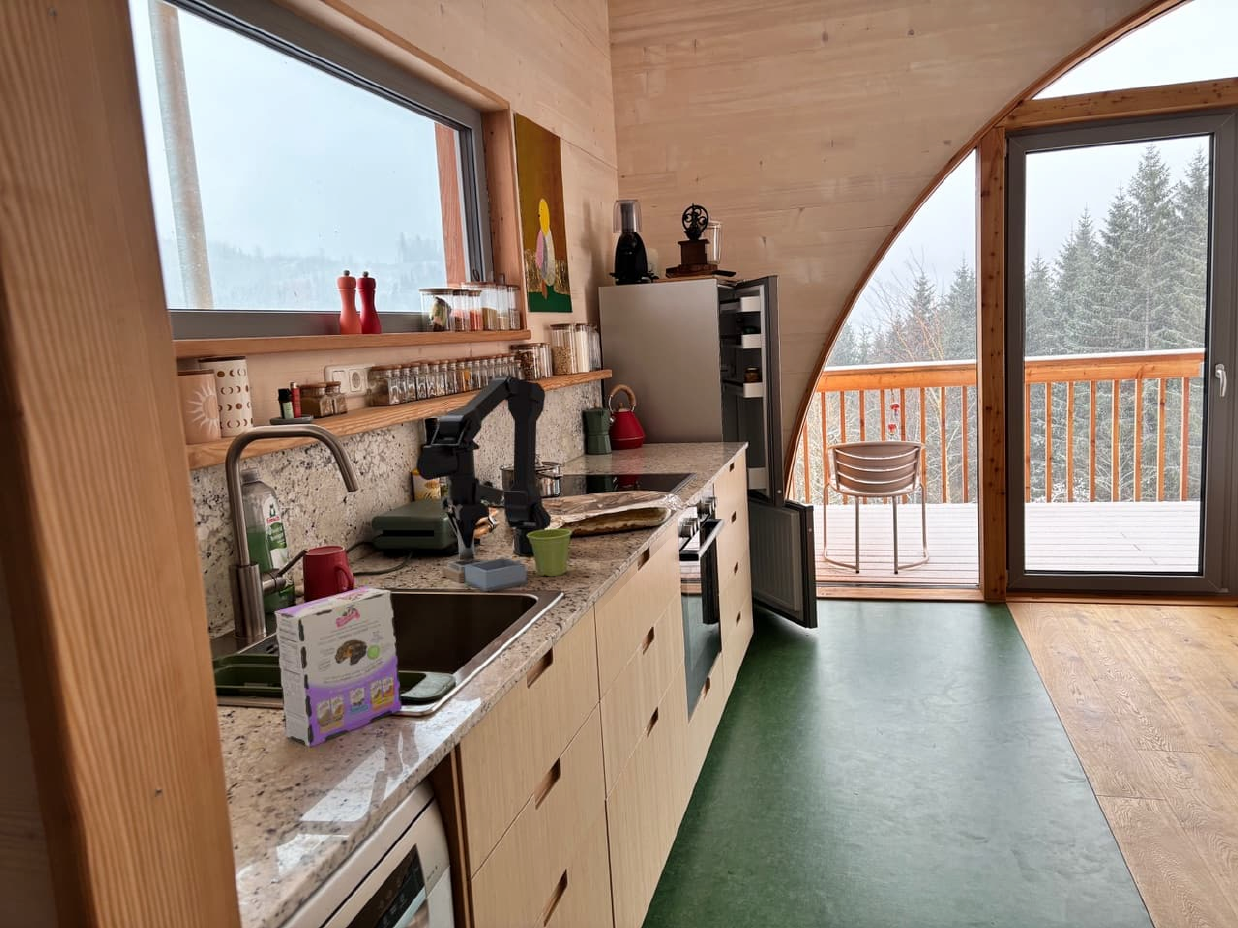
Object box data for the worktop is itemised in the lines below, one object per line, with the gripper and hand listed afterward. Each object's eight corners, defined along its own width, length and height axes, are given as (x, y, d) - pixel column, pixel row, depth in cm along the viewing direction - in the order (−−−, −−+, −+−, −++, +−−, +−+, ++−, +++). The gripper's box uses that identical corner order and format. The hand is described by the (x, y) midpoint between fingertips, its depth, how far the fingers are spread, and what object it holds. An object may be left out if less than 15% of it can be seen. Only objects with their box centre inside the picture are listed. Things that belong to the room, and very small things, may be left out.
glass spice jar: (456, 557, 196) (453, 516, 195) (473, 555, 197) (470, 514, 196) (460, 560, 192) (457, 518, 191) (477, 558, 194) (474, 516, 193)
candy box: (376, 701, 126) (366, 584, 124) (403, 710, 122) (393, 589, 120) (284, 737, 115) (271, 609, 113) (310, 748, 111) (298, 616, 109)
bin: (504, 576, 194) (503, 557, 193) (526, 583, 186) (525, 564, 186) (466, 584, 188) (464, 564, 188) (486, 592, 181) (485, 572, 181)
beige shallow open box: (476, 569, 201) (475, 556, 200) (494, 575, 194) (493, 561, 194) (442, 576, 196) (441, 562, 196) (459, 582, 190) (458, 568, 189)
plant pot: (537, 581, 188) (535, 539, 187) (523, 572, 196) (521, 532, 195) (580, 574, 192) (578, 533, 191) (564, 566, 200) (562, 526, 199)
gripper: (511, 474, 187) (516, 549, 189) (486, 465, 204) (491, 534, 206) (457, 479, 183) (462, 556, 185) (436, 470, 200) (441, 540, 202)
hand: (466, 546), depth 194 cm, fingers closed on glass spice jar, 3 cm apart
